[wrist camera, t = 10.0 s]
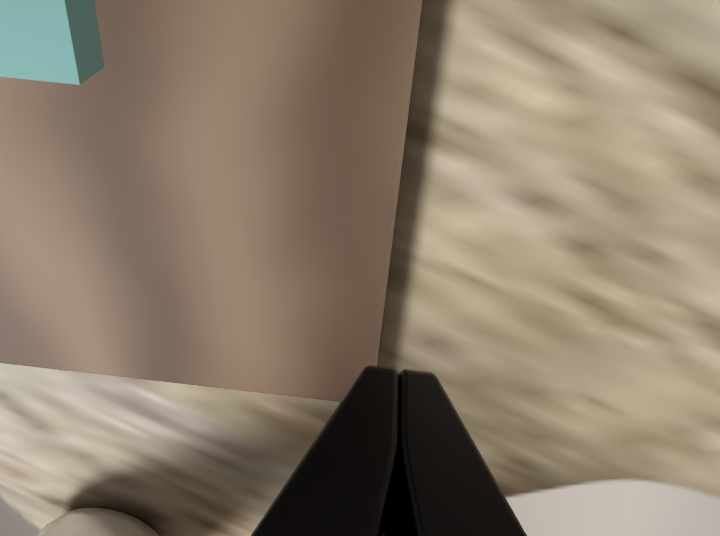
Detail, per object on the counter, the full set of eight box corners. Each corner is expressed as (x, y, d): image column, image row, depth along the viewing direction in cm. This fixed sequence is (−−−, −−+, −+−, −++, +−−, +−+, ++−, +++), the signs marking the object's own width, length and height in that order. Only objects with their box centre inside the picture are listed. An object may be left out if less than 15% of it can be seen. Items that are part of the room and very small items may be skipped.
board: (496, -613, 11) (503, -651, 10) (373, 386, 24) (371, 405, 24) (-352, -677, 11) (-413, -717, 10) (-5, 343, 25) (-20, 360, 24)
